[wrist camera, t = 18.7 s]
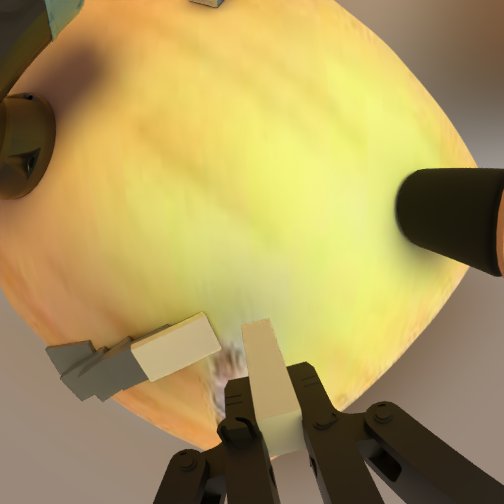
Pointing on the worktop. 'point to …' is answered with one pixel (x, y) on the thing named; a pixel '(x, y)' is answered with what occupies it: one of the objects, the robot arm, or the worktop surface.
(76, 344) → the domino
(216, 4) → the medicine box
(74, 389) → the domino
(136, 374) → the domino
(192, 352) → the domino
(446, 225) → the coffee jar
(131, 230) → the worktop surface
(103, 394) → the domino
